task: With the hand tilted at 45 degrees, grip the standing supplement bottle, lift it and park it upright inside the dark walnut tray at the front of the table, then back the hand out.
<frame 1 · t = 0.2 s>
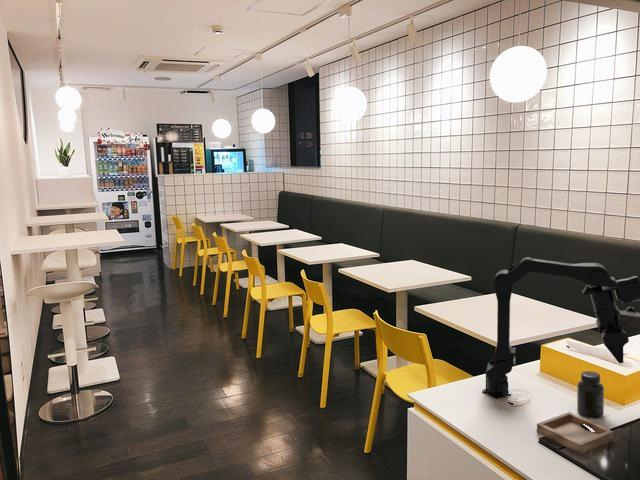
hand: (618, 357, 148), 16 cm above the counter, tool tilted 15°, fingers open, 9 cm apart
supplement bottle: (589, 414, 148), on the counter
walnut tray: (574, 436, 136), on the counter
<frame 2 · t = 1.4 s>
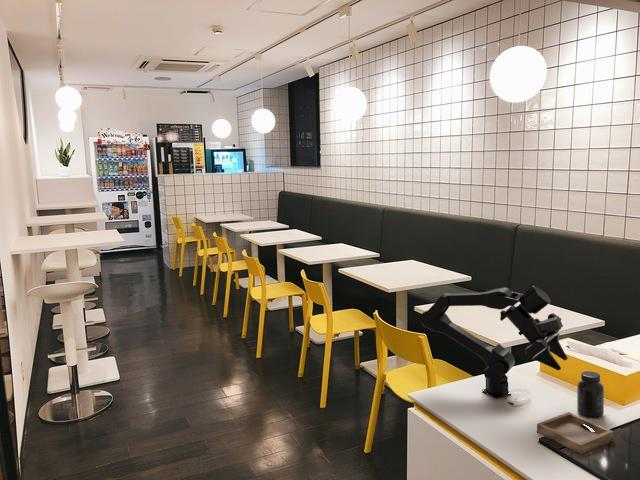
hand: (563, 364, 151), 13 cm above the counter, tool tilted 45°, fingers open, 9 cm apart
nothing on the counter moved.
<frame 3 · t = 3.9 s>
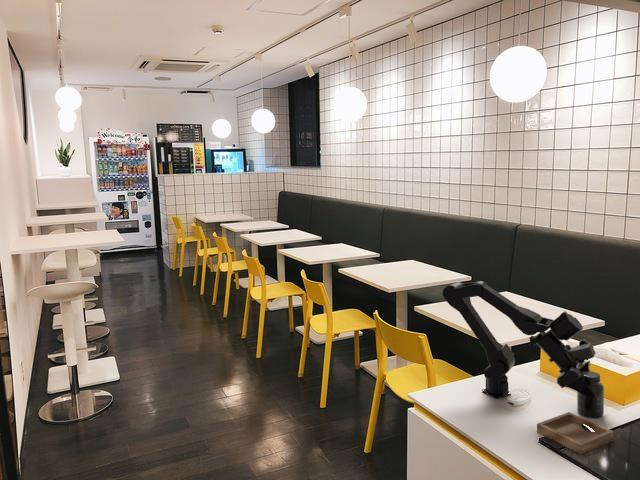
hand: (596, 392, 146), 7 cm above the counter, tool tilted 45°, fingers closed on supplement bottle, 7 cm apart
supplement bottle: (589, 414, 148), on the counter, touching gripper
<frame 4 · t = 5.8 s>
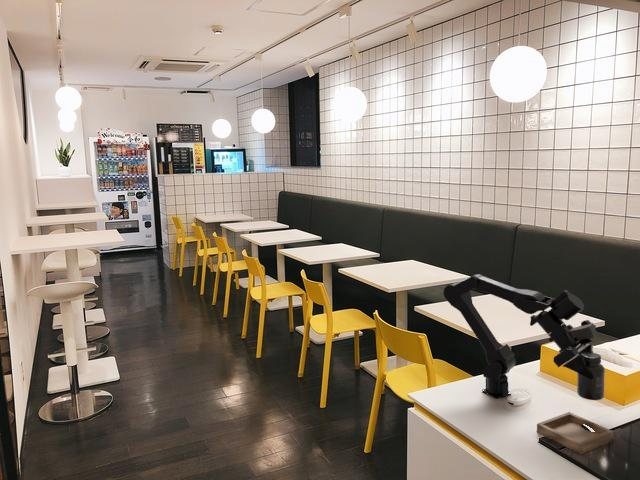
hand: (596, 374, 142), 13 cm above the counter, tool tilted 45°, fingers closed on supplement bottle, 7 cm apart
supplement bottle: (590, 396, 144), point 7 cm above the counter, touching gripper
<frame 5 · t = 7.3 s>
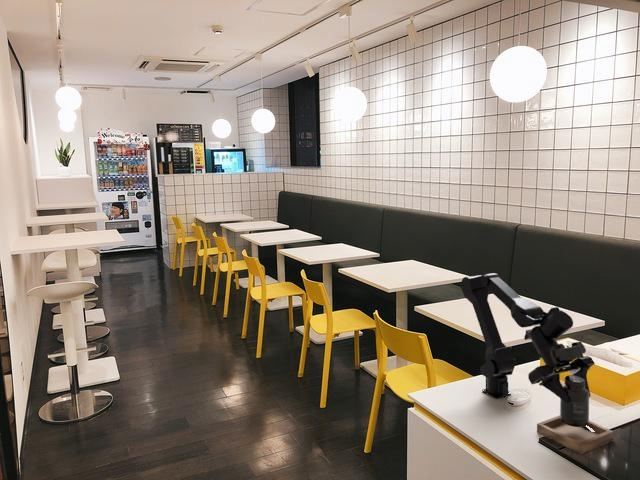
hand: (578, 399, 133), 11 cm above the counter, tool tilted 45°, fingers closed on supplement bottle, 7 cm apart
supplement bottle: (573, 422, 136), point 4 cm above the counter, touching gripper
when the fingers open (10 cm above the counter, at t = 8.1 s): supplement bottle drops 2 cm, resting on walnut tray.
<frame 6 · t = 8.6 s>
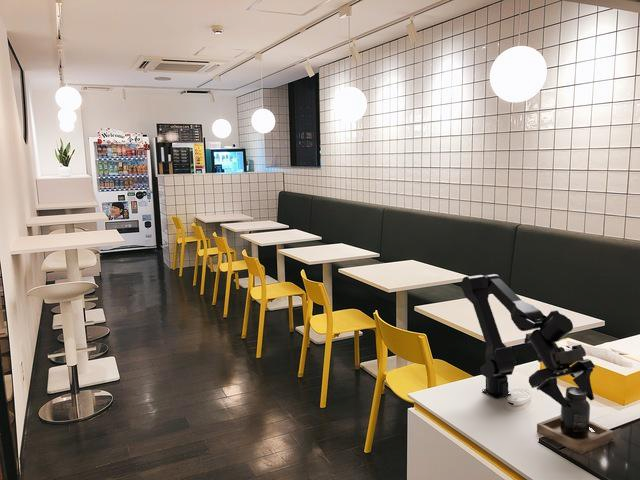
hand: (579, 403, 133), 10 cm above the counter, tool tilted 45°, fingers open, 9 cm apart
supplement bottle: (573, 433, 136), point 1 cm above the counter, touching walnut tray
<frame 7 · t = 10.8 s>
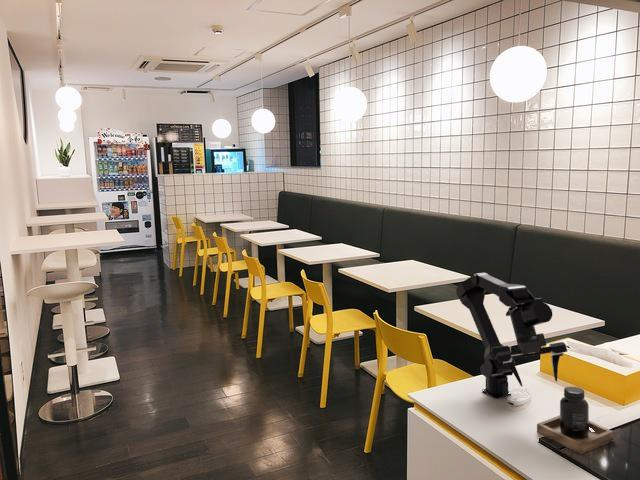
hand: (538, 383, 143), 11 cm above the counter, tool tilted 25°, fingers open, 9 cm apart
nothing on the counter moved.
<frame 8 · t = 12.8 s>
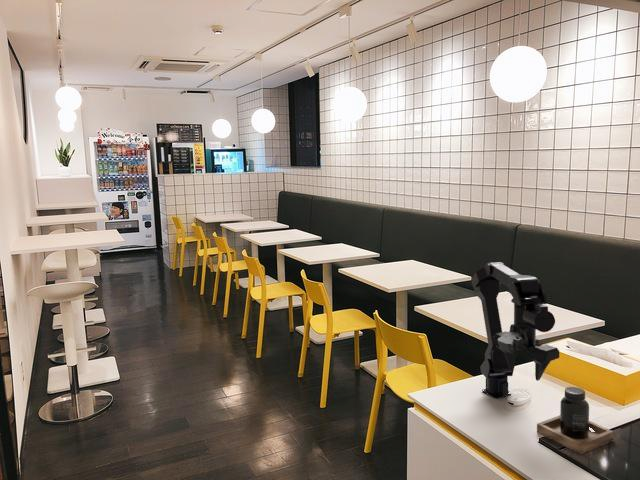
hand: (524, 374, 145), 13 cm above the counter, tool pointing down, fingers open, 9 cm apart
nothing on the counter moved.
at the end: supplement bottle 0.1 cm off-centre on the walnut tray, point 0.6 cm above the walnut tray's base; supplement bottle tilted 1°; the gripper is holding nothing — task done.
